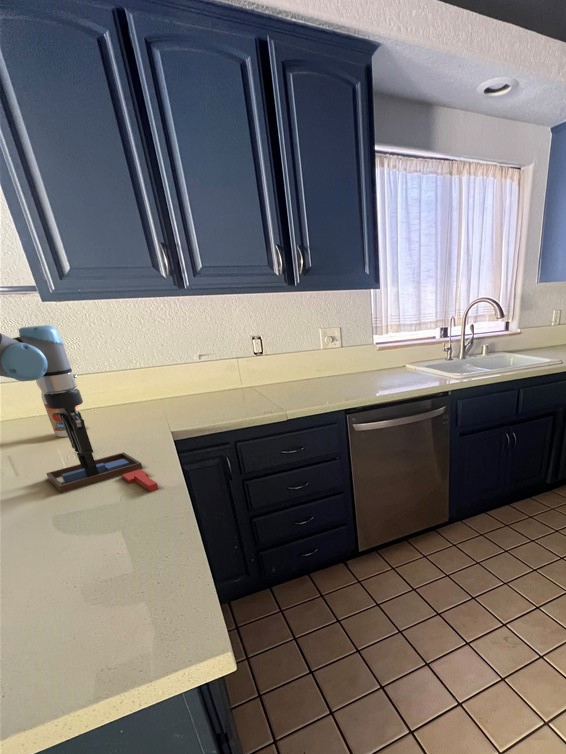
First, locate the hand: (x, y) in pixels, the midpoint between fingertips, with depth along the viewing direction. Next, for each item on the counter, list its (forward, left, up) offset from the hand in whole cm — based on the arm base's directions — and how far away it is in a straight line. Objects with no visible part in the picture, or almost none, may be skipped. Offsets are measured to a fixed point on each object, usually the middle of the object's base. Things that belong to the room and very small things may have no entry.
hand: (92, 474), depth 118 cm
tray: (+1, +1, -1) cm, 1 cm away
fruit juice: (-37, +39, -1) cm, 54 cm away
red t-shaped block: (+18, -5, -1) cm, 18 cm away
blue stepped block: (+1, +1, 0) cm, 1 cm away
